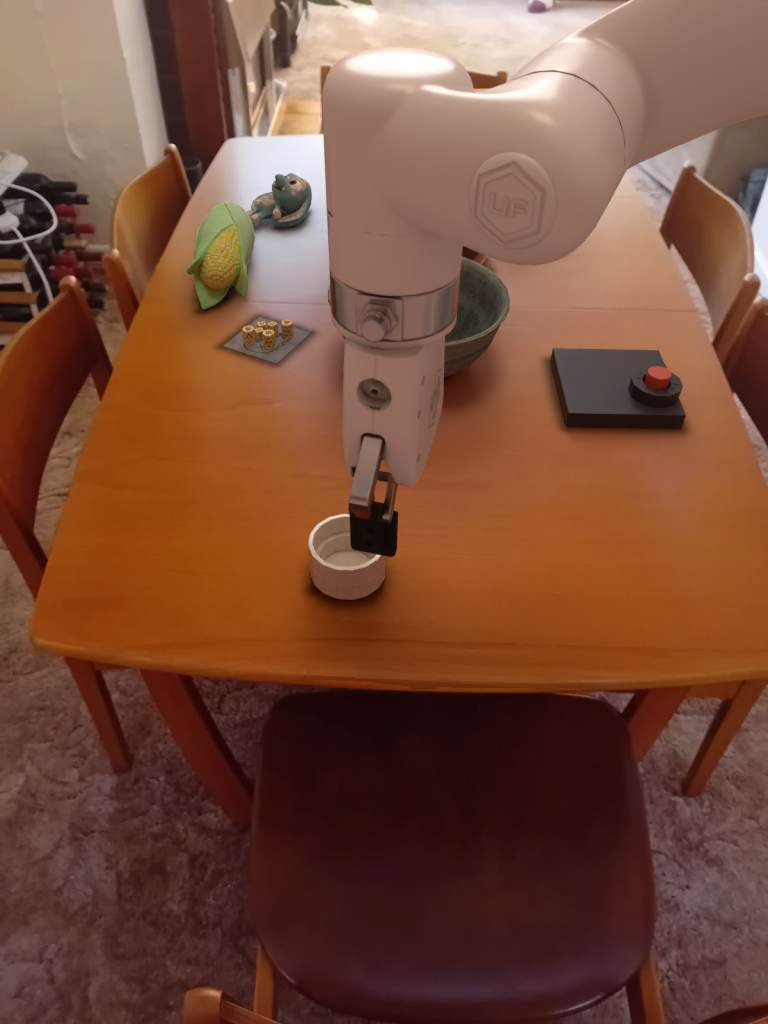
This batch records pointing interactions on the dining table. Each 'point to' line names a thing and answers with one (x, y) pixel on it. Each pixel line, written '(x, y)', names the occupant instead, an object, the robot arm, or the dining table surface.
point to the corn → (222, 253)
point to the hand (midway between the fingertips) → (390, 503)
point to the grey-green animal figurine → (283, 201)
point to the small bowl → (342, 561)
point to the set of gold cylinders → (267, 339)
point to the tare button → (658, 377)
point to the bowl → (473, 316)
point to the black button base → (614, 389)
